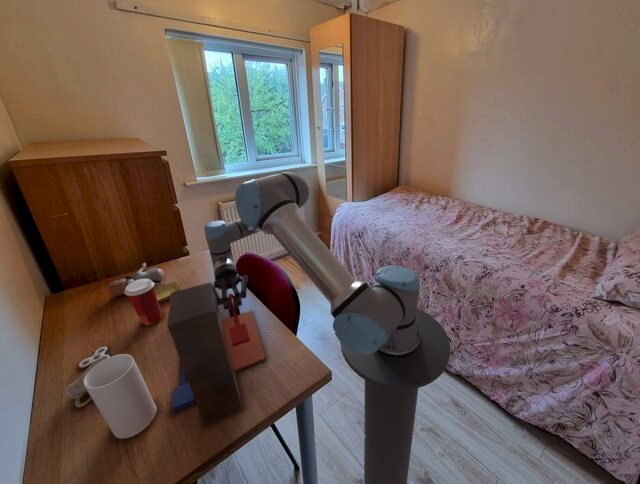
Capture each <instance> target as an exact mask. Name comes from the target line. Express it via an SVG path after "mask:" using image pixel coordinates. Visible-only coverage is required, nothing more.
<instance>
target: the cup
mask: <svg viewBox="0 0 640 484" xmlns="http://www.w3.org/2000/svg"><path fill="white" fill-rule="evenodd" d="M106 358H107V357H106ZM84 386H85V388H86V389H87V391H88V395H89V396H90V397H91V398H92V401H93V402H94V404H95V406H96V408H97V409H98V411H99V413H100V414H101V416H102V418H103V419H104V421H105V423H106V425H107V426H108V427H109V429H110V430H111V432H112V434H113V436H114V437H115V438H117V439H129V438H132V437H134V436H136V435H138V434H139V433H141V432H142V431H144V430H145V429H146V428H148V426H150V425H151V423H152V422H153V420H154V419H155V417H156V414H157V406H156V403H155V401H154V399H153V397H152V395H151V393H150V390H149V388H148V386H147V384H146V382H145V380H144V378H143V375H142V374H141V372H140V369H139V367H138V365H137V363H136V361H135V358H134V357H133V355H130V354H128V353H120V354H116V355H112V356H110V357H109V358H107V359H105V360H103V361H101V362H100V363H98V364H97V365H95V366H94V367H93V368H92V369H91V370H90V371H89V372H88V373H87V374H86V376H85V378H84Z"/></svg>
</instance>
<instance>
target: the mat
mask: <svg viewBox="0 0 640 484" xmlns="http://www.w3.org/2000/svg"><path fill="white" fill-rule="evenodd" d="M238 318H239V322H240V324H243V323H246V327H247V331H248V334H249V339H250V341H249V342H246V343H243V344H240V345H237V346H235V347H233V345H232V340H231V335H230V330H229V328H231V327H234V326H235V325H234V320H233V317H231V318H230V317H228V318H224V319H222V323H223V327H224V331H225V334H226V338H227V342H228V346H229V349H230V353H231V357H232V361H233V364H234V368H235V372H237V371H240V370H243V369H245V368H247V367H250V366H253V365H255V364H258V363H260V362H263V361H265V360H266V356H265V353H264V349H263V346H262V341H261V338H260V336H259V332H258V329H257V326H256V322H255V319H254V316H253V313H252V311H247V312H244V313H240V315H238Z"/></svg>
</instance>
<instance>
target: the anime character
mask: <svg viewBox="0 0 640 484" xmlns="http://www.w3.org/2000/svg"><path fill="white" fill-rule="evenodd" d="M146 267H147V262H142V264H141V267H140V268H139V269H138V271H136V272H135V273H134V275H132V276H131V275H126V276H125V277H124V278H119V279H118V280H113V281H110V282H109V283H108V289H109V292H110V294H111V295H112V296H114V297H120V296H124V295H126V294H125V293H124V292H125V288H126V287H127V286H128V285H129V284H130V283H132V282H134V281H136V280H140V279H150V280H151V281H152V282H153V281H155V282H154V287H157V286H158V287H162V286H166V285H167V284H166V282H163V279H164V278H165V272H164V270H163V269H162V268H158V267H156V266H155V267H153V268H151V269H149V270H146V271H143V270H144V269H146ZM156 281H157V282H156Z"/></svg>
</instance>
